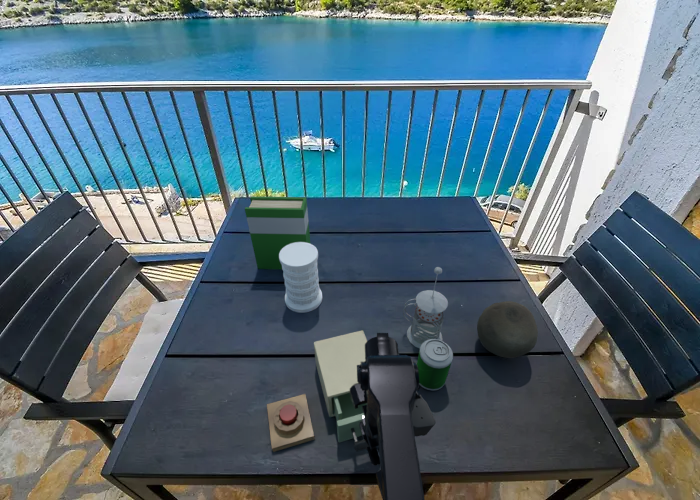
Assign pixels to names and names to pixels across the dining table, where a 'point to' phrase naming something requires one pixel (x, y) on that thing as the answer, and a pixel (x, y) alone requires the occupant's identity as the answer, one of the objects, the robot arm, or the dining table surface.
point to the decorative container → (301, 276)
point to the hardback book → (276, 227)
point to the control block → (293, 432)
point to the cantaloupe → (507, 329)
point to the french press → (427, 315)
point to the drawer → (348, 420)
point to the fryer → (339, 364)
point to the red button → (288, 414)
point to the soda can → (434, 364)
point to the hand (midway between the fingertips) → (379, 454)
